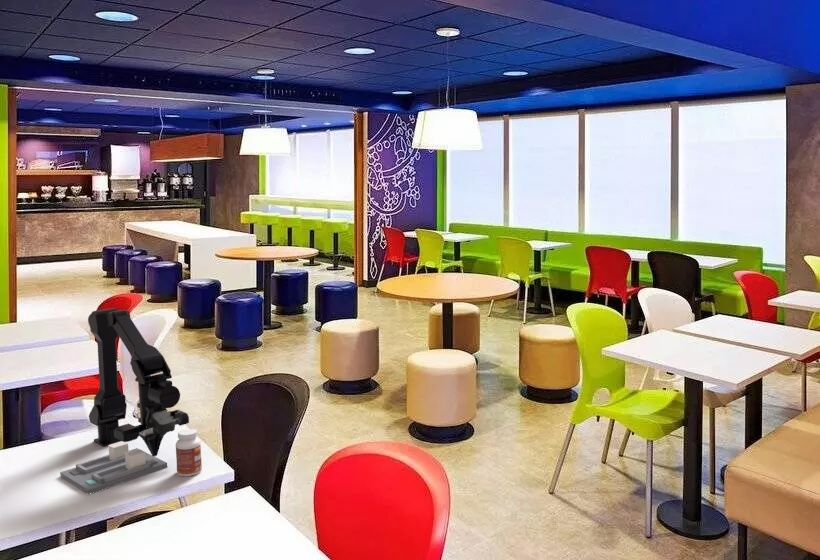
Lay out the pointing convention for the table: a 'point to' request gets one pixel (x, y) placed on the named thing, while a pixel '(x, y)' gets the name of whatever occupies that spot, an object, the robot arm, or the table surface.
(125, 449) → the tab
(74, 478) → the switch board
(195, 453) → the pill bottle
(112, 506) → the table surface
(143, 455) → the tab
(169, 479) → the table surface
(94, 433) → the table surface
